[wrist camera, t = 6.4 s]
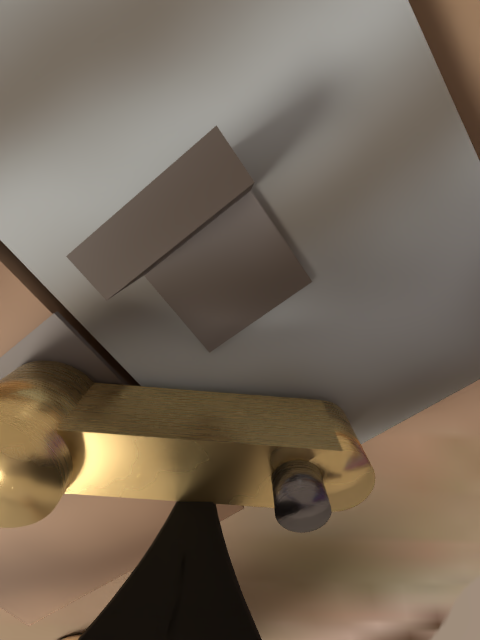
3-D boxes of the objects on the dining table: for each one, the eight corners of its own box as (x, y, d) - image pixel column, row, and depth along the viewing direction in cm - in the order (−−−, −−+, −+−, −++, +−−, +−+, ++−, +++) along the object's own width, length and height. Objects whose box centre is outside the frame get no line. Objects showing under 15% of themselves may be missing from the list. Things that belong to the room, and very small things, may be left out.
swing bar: (10, 445, 11) (-80, 537, 8) (-7, 356, 10) (-120, 423, 7) (337, 469, 12) (373, 566, 9) (357, 384, 11) (408, 461, 7)
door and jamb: (-317, 348, 12) (-594, 416, 8) (226, -311, 7) (205, -1046, 3) (43, 597, 17) (-19, 718, 13) (526, 323, 11) (676, 384, 8)
